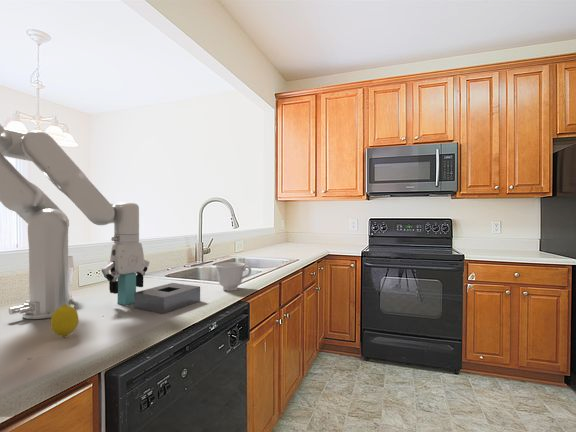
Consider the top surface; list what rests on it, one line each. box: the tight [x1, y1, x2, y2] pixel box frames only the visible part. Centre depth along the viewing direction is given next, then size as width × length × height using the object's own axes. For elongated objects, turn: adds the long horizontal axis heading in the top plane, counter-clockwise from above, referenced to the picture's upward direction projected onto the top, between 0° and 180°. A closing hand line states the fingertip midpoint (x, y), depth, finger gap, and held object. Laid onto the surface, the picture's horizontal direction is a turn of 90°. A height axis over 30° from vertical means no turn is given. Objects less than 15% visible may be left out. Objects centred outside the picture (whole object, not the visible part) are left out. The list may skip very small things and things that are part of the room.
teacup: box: [214, 261, 252, 292], centre depth 128 cm, size 12×15×10 cm
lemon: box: [50, 305, 79, 338], centre depth 78 cm, size 6×6×8 cm
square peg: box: [117, 272, 137, 306], centre depth 108 cm, size 4×4×10 cm
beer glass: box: [68, 255, 75, 302], centre depth 111 cm, size 7×7×15 cm
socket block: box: [133, 282, 201, 315], centre depth 107 cm, size 16×13×5 cm
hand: (127, 289), depth 108 cm, fingers open, 9 cm apart
